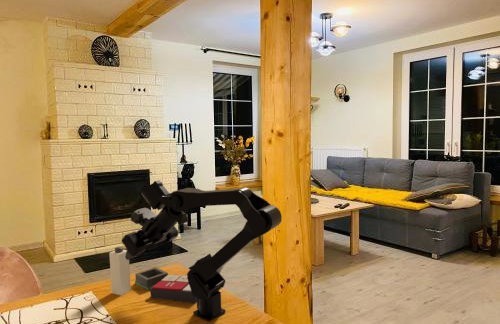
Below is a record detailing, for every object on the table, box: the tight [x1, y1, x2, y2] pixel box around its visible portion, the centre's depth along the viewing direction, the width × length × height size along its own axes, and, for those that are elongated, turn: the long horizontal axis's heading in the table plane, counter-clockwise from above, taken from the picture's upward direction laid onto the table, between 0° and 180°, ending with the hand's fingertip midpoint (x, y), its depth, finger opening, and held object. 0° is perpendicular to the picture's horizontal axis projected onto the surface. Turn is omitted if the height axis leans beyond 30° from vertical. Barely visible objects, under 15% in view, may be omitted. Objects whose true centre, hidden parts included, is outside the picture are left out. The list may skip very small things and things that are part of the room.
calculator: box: [149, 274, 197, 304], centre depth 115 cm, size 11×4×15 cm
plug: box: [108, 246, 131, 296], centre depth 116 cm, size 4×4×14 cm
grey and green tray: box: [134, 266, 169, 291], centre depth 123 cm, size 8×8×3 cm
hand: (137, 253), depth 112 cm, fingers open, 9 cm apart
